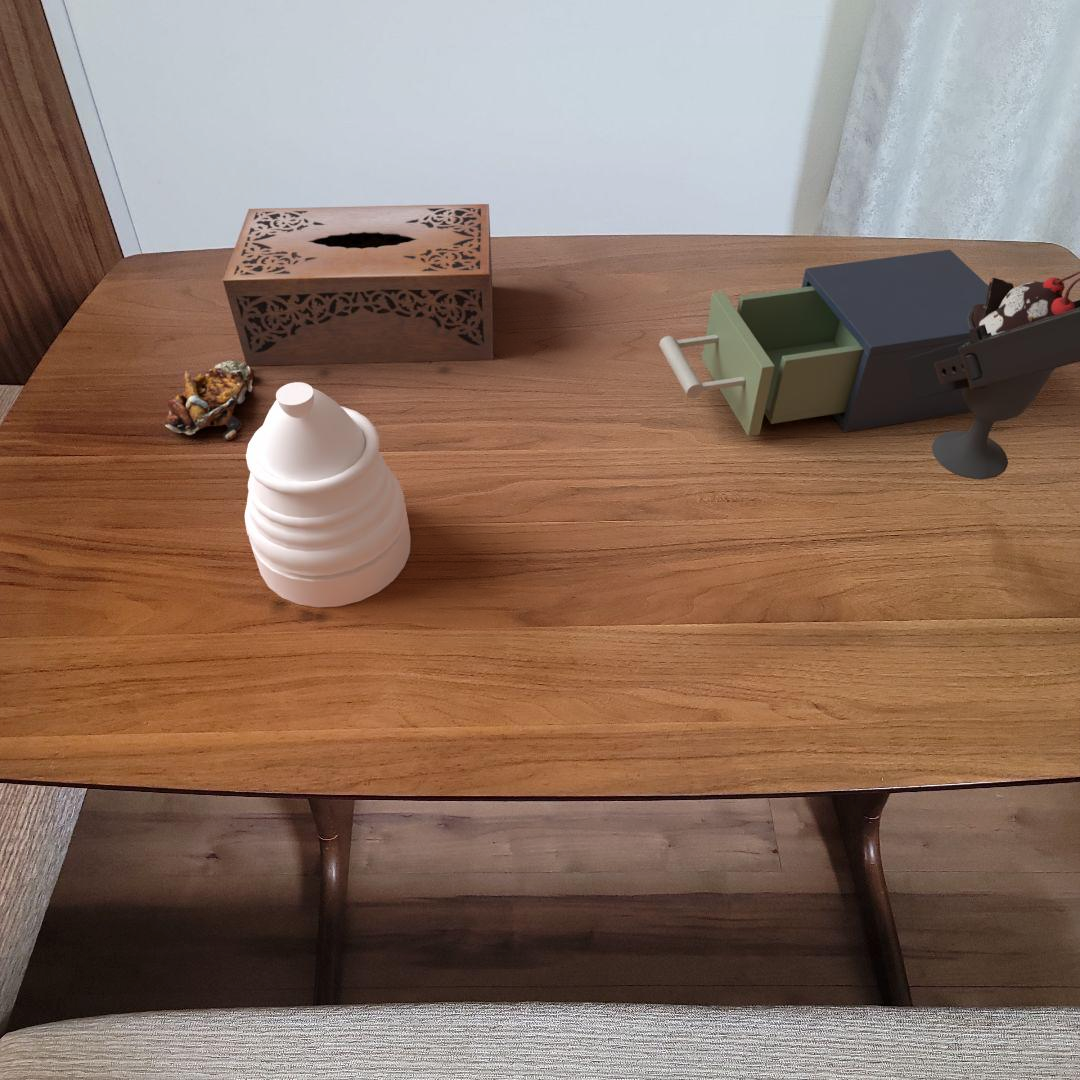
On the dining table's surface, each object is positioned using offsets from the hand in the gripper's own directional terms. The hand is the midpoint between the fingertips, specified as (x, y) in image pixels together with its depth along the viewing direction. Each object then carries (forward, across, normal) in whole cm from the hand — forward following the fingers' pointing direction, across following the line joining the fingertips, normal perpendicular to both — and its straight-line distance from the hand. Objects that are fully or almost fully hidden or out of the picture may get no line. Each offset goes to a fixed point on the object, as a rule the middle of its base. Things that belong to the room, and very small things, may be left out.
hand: (957, 362), depth 61 cm
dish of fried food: (+49, -43, +19) cm, 68 cm away
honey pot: (+32, -39, +2) cm, 50 cm away
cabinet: (+29, +19, -1) cm, 35 cm away
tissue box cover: (+53, -24, +23) cm, 63 cm away
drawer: (+31, +6, +2) cm, 32 cm away
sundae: (+2, 0, -6) cm, 7 cm away
